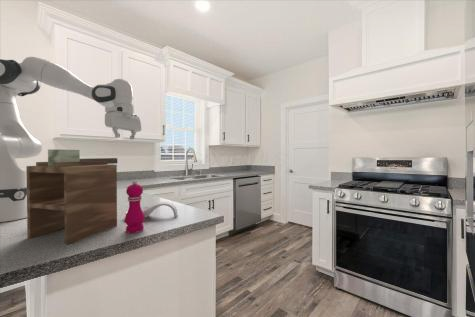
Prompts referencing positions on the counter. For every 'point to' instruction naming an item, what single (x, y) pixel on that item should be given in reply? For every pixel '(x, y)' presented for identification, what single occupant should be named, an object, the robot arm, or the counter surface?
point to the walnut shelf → (71, 198)
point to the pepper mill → (134, 209)
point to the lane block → (72, 157)
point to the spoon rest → (150, 209)
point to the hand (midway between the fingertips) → (125, 138)
